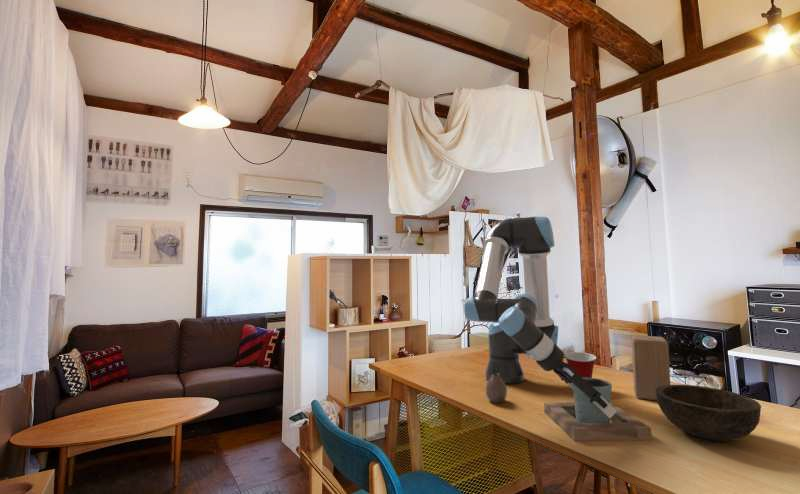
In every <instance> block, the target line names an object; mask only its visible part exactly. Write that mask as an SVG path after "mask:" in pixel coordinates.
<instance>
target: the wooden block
mask: <svg viewBox="0 0 800 494" xmlns="http://www.w3.org/2000/svg"><path fill="white" fill-rule="evenodd" d="M669 353H670V352H669V342H668V341H667V340H666V338H665V337H663V336H655V335H653V336H650V335H637V334H636V335H635V334H634V335H632V336H631V355H632V357H631V359H632V375H633V376H632V377H633V378H632V379H633V390H634V395H635V397H636V398H637V399H638V400H639V399H640V400H646V401H647V400H648V401H656V402H658V401H657V396H656V389H657V388H658V387H660V386H665V385H671V375H670V354H669Z"/></svg>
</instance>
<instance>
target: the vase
mask: <svg viewBox="0 0 800 494" xmlns="http://www.w3.org/2000/svg"><path fill="white" fill-rule="evenodd" d="M506 385H507V384H505V383H504V381H503V380H502V379H501V377H500V375H499V374H492V376H491V378H490V379H489V380H487V382H486V385H485V394H486V397H487V399H488V400H489V401H490V402H492V403H494V404H500V403H503V402H504V401H505V400H506V399H507V392H508V391H507V389H508V388H507V386H506Z"/></svg>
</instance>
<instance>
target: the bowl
mask: <svg viewBox="0 0 800 494" xmlns="http://www.w3.org/2000/svg"><path fill="white" fill-rule="evenodd" d="M656 396H657V401H656V402H657V404H658V406H659V409H660V410H661V412H662V413H663V414H664V416H665V417H666V418H667V420H668V422H671V423H672V424H673V425H674V426H675V427H677V428H678V429H680V430H682V431H684V432H686V433H688V434H689V435H691V436H694V437H698V438H701V439H705V440H710V441H716V442H727V441H733V440H739V439H742V438H745V437H747V436H749V435H750V434H752V432H754V430H756V428H757V426H758V425H759V423H760V418H761V410H762V405H761V404H760V403H759V402H758V401H756V400H755V399H752V398H751V397H748V396H745V395H744V394H739V393H736V392H734V391H733V392H732V391H729V390H725V389H719V388H715V387H710V386H709V387H708V386H702V385H692V384H691V385H690V384H670V385H665V386H660V387H658V388H657V389H656Z"/></svg>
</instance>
